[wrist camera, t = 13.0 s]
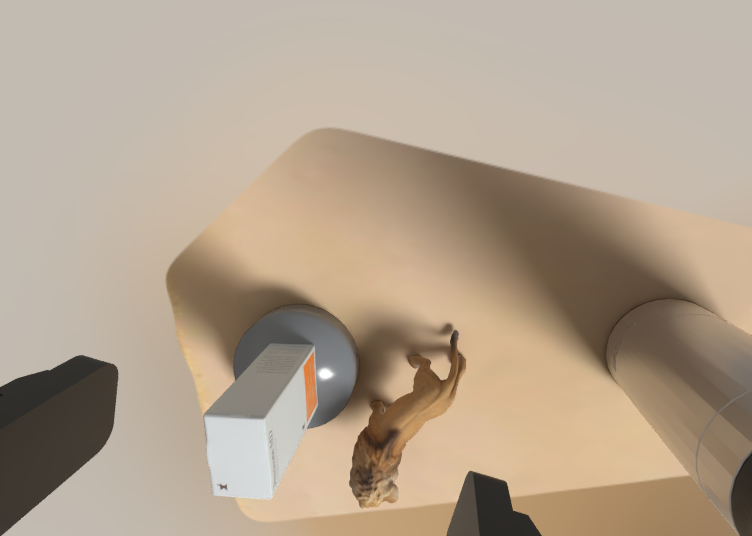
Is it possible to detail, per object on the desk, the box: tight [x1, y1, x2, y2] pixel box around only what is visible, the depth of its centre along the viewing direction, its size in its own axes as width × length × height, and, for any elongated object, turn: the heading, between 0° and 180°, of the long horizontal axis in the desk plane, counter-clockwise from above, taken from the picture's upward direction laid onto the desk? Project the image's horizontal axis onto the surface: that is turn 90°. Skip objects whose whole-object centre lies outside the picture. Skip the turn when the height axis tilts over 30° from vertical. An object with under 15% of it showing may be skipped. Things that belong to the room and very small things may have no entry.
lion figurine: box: [349, 330, 466, 508], centre depth 38 cm, size 15×5×9 cm, turn 150°
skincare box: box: [203, 343, 318, 499], centre depth 34 cm, size 6×4×12 cm
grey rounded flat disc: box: [234, 304, 359, 429], centre depth 41 cm, size 11×11×3 cm
